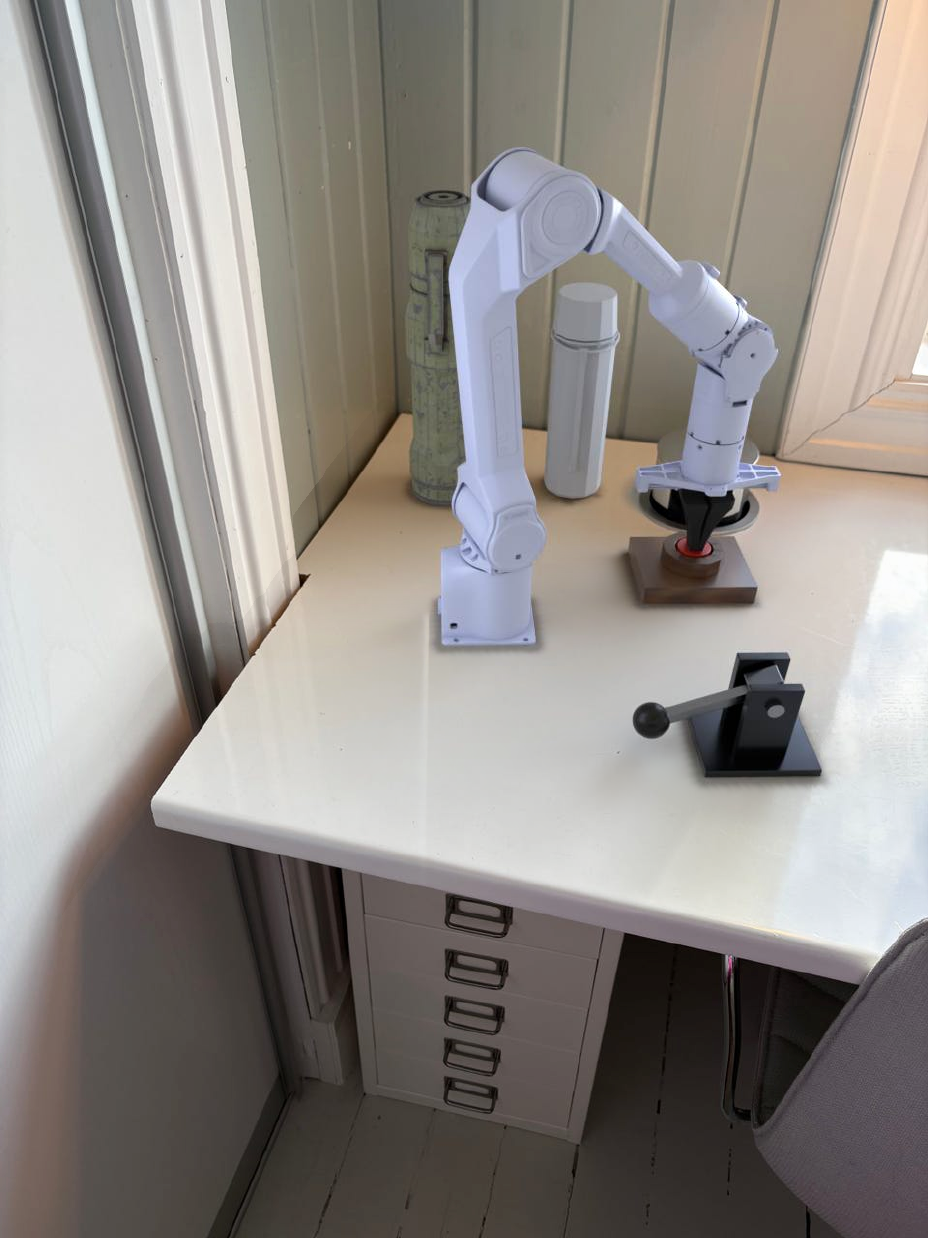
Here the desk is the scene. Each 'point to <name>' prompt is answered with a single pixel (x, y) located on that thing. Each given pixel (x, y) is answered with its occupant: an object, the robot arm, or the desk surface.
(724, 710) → the bracket
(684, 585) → the control block
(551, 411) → the water bottle
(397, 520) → the desk surface
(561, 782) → the desk surface
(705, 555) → the button
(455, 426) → the thermos
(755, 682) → the lever
